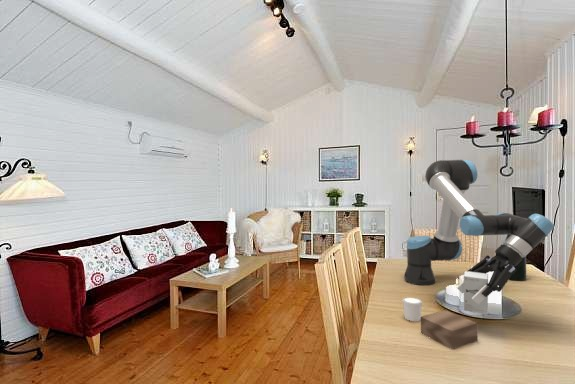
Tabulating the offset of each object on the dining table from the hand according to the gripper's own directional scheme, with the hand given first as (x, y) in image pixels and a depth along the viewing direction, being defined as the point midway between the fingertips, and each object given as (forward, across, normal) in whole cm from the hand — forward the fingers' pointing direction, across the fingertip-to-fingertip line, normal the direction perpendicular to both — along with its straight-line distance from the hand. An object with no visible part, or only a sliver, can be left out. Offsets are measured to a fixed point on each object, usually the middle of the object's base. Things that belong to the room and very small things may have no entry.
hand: (466, 295), depth 110 cm
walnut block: (+15, -8, -1) cm, 17 cm away
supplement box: (+1, 0, -6) cm, 6 cm away
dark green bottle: (-29, +56, -46) cm, 78 cm away
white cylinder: (+20, +7, +4) cm, 22 cm away
